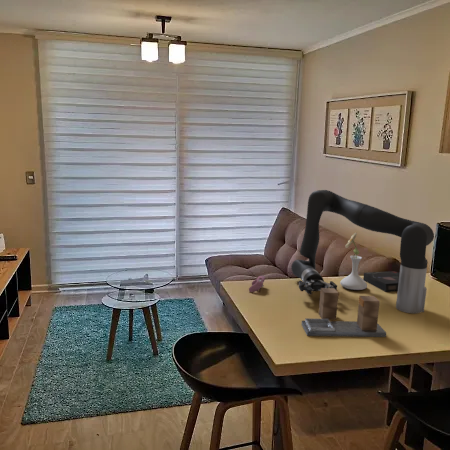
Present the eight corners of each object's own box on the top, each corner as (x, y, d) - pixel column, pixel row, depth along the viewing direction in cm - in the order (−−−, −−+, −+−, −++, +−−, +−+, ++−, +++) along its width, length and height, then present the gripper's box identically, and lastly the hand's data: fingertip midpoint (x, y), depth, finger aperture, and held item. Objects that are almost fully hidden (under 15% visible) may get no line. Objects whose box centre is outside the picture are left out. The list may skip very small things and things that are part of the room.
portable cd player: (385, 293, 198) (386, 284, 197) (363, 281, 214) (363, 272, 213) (418, 291, 202) (419, 282, 202) (393, 279, 218) (394, 271, 218)
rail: (375, 325, 161) (376, 319, 160) (385, 336, 152) (386, 329, 152) (301, 324, 159) (301, 317, 159) (307, 335, 151) (307, 328, 150)
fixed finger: (371, 324, 159) (374, 296, 157) (376, 330, 154) (379, 301, 152) (355, 323, 158) (358, 295, 156) (360, 329, 153) (363, 300, 151)
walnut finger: (332, 314, 170) (335, 288, 168) (336, 319, 165) (339, 292, 163) (318, 314, 170) (320, 288, 168) (322, 319, 165) (324, 292, 163)
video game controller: (257, 296, 190) (265, 283, 188) (247, 291, 191) (256, 277, 189) (260, 289, 200) (268, 276, 198) (251, 283, 200) (259, 270, 198)
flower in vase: (345, 282, 209) (350, 227, 205) (370, 287, 203) (376, 231, 198) (334, 289, 199) (339, 231, 194) (360, 295, 192) (365, 236, 188)
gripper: (295, 270, 190) (304, 282, 174) (329, 271, 191) (341, 283, 175) (294, 287, 192) (302, 301, 176) (328, 288, 192) (339, 302, 176)
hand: (322, 292), depth 175 cm, fingers open, 8 cm apart
